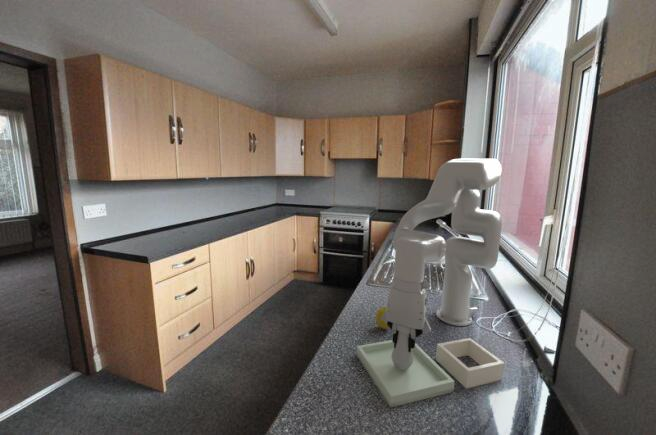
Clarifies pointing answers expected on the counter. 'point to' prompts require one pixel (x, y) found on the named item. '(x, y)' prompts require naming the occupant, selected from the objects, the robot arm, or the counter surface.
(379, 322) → the lemon
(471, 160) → the robot arm
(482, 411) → the counter surface
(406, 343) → the salt shaker
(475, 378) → the square frame
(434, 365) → the tray
